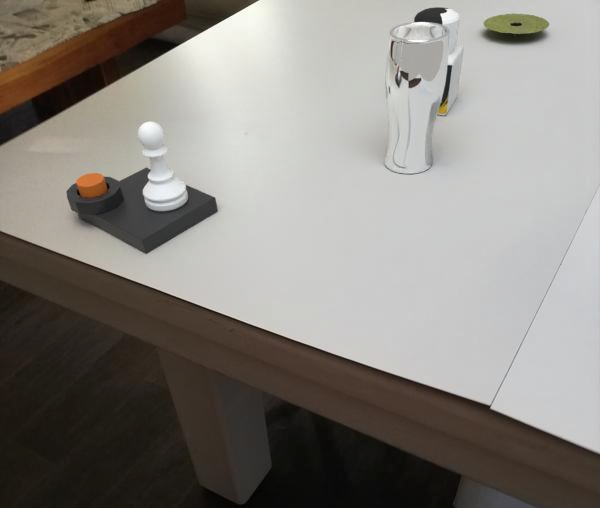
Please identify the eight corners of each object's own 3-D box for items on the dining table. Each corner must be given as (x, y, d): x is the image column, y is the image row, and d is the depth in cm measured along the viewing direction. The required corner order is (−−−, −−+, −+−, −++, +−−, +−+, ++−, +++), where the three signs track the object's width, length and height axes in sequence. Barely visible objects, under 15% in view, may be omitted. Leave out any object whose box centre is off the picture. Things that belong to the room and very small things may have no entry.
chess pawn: (138, 210, 68) (116, 132, 61) (155, 188, 71) (136, 112, 64) (179, 214, 67) (160, 134, 60) (194, 191, 70) (179, 113, 63)
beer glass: (369, 163, 76) (374, 32, 65) (407, 145, 79) (417, 17, 68) (409, 181, 72) (421, 46, 61) (447, 162, 75) (465, 29, 64)
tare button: (74, 193, 69) (70, 181, 68) (97, 182, 70) (93, 170, 69) (90, 201, 67) (86, 189, 66) (113, 190, 69) (109, 177, 68)
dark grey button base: (66, 219, 71) (56, 192, 68) (144, 179, 77) (137, 152, 74) (138, 259, 64) (130, 231, 62) (218, 212, 70) (213, 184, 68)
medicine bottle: (397, 111, 87) (404, 17, 78) (411, 92, 91) (418, 2, 82) (445, 116, 84) (458, 20, 76) (457, 97, 89) (470, 4, 80)
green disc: (468, 35, 107) (470, 23, 105) (509, 21, 111) (511, 9, 110) (518, 50, 101) (521, 37, 99) (559, 34, 105) (562, 21, 103)
